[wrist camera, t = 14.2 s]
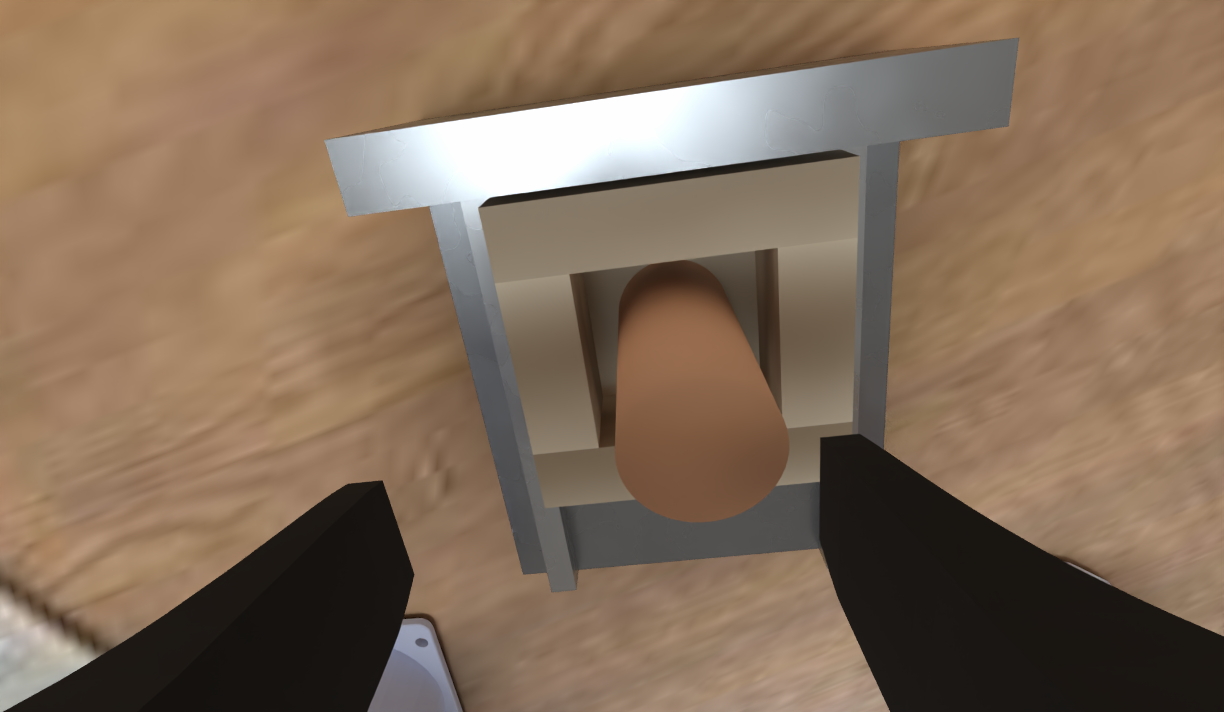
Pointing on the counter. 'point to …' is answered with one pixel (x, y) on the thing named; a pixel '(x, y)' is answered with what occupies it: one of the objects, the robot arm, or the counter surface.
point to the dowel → (692, 400)
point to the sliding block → (662, 232)
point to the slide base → (656, 144)
